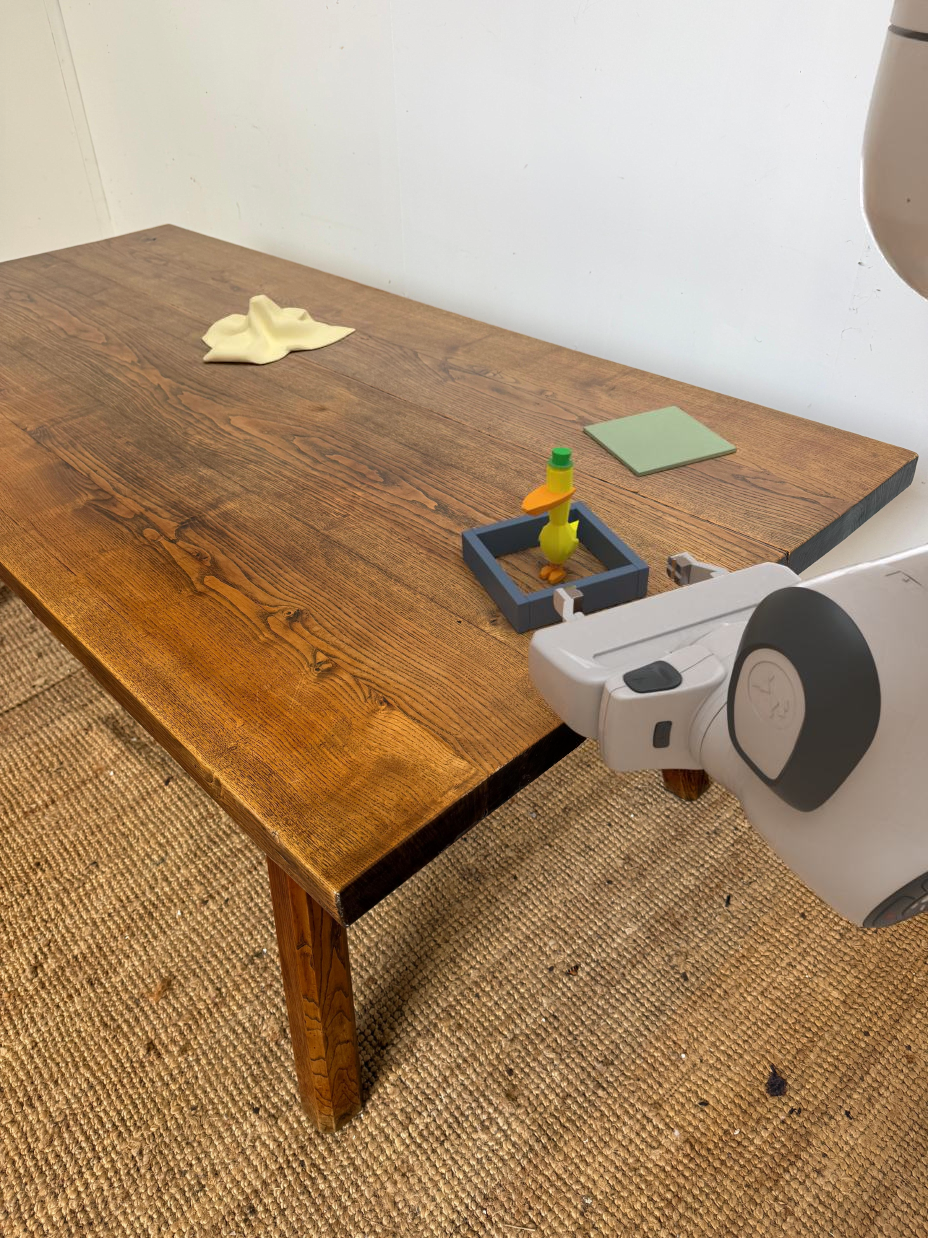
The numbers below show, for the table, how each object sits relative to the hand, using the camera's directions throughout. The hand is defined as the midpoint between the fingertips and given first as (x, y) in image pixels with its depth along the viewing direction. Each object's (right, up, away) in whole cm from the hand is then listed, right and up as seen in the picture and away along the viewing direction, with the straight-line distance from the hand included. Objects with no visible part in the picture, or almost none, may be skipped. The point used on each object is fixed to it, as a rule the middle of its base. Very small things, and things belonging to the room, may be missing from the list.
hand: (619, 577), depth 65 cm
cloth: (-39, +38, +63) cm, 83 cm away
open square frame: (-4, +1, +13) cm, 13 cm away
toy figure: (-4, 0, +13) cm, 13 cm away
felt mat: (+10, +16, +32) cm, 37 cm away
